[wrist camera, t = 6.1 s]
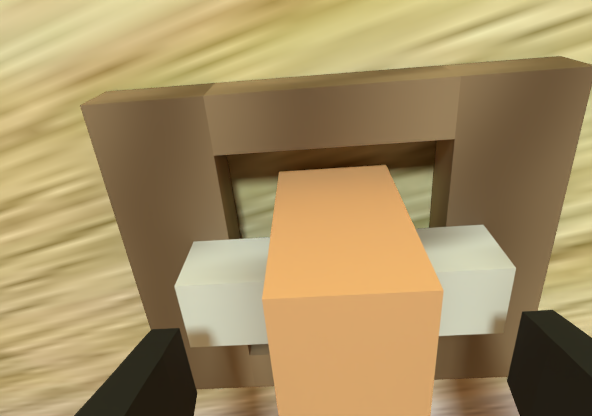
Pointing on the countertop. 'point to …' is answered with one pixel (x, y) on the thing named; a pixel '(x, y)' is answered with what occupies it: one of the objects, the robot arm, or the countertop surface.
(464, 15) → the countertop surface
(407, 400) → the orange block
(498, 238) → the brown rectangular frame
